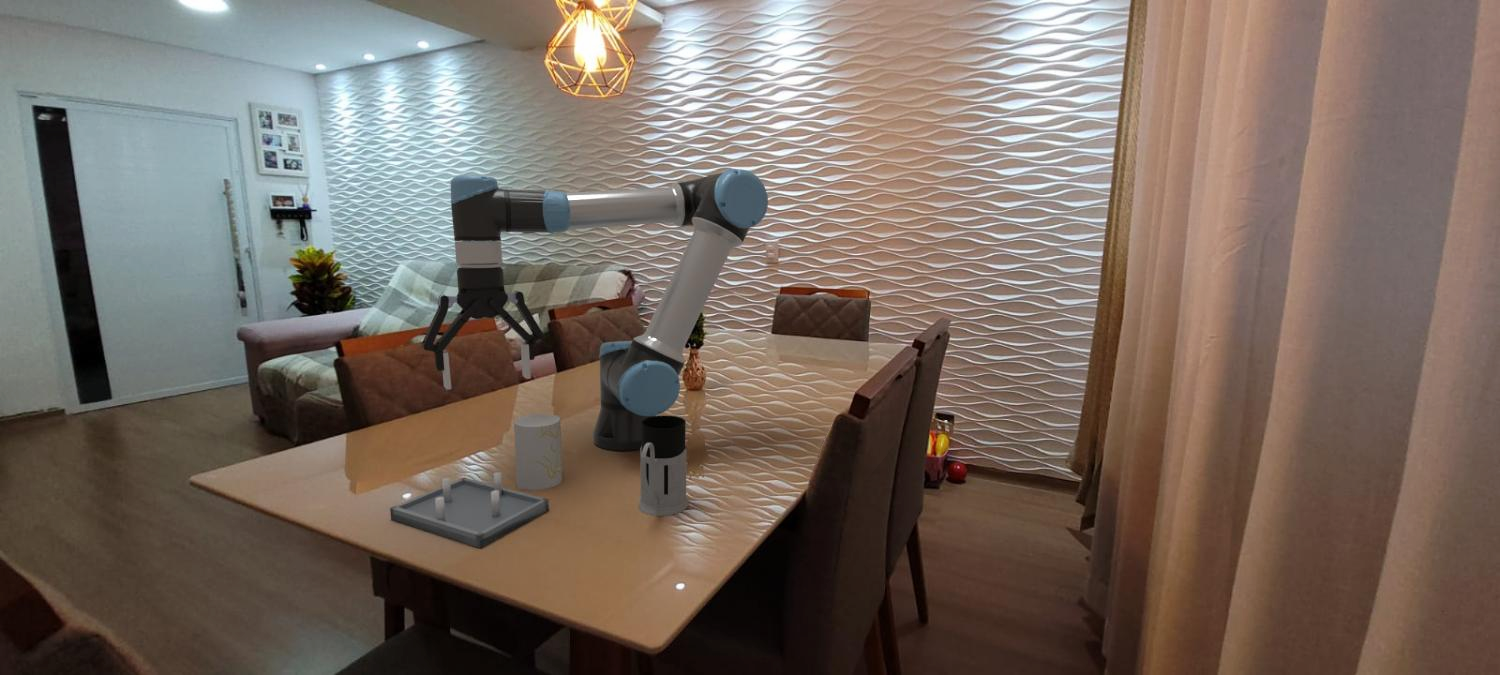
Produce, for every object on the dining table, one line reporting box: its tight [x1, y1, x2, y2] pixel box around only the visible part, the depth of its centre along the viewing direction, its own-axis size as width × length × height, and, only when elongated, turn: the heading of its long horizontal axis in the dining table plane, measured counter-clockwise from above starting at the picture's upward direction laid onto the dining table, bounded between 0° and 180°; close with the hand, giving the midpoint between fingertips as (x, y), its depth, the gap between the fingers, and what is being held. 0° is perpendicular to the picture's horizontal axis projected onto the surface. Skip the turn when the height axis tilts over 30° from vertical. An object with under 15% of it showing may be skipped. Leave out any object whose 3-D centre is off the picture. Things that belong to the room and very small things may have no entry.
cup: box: [513, 413, 563, 491], centre depth 111 cm, size 8×8×12 cm
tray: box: [389, 471, 550, 549], centre depth 97 cm, size 20×14×5 cm
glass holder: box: [637, 415, 690, 517], centre depth 99 cm, size 9×14×15 cm, turn 169°
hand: (488, 382), depth 108 cm, fingers open, 13 cm apart
